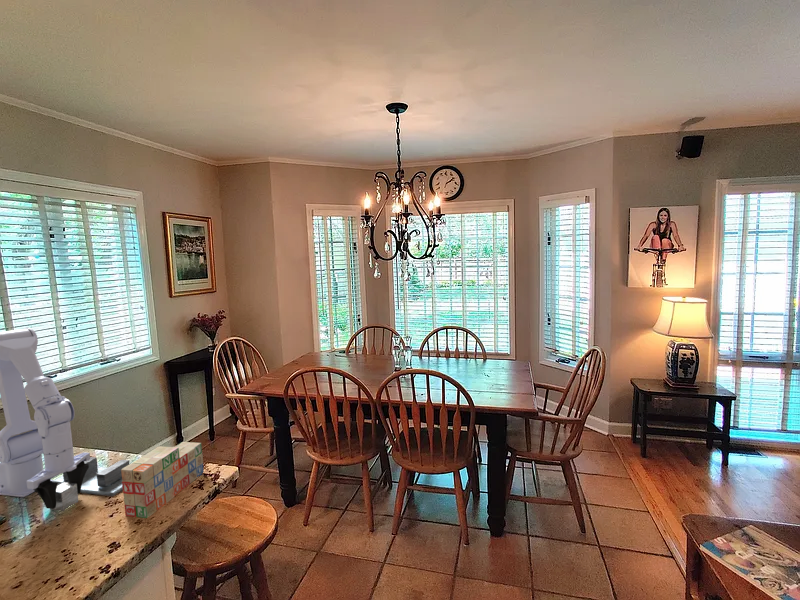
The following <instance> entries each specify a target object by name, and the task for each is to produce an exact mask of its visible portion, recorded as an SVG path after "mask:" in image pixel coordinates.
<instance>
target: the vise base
mask: <svg viewBox="0 0 800 600" xmlns="http://www.w3.org/2000/svg"><path fill="white" fill-rule="evenodd" d="M84 463H87V464H89V468H88V470H87V471H86V473H85V476H84V478H83V482H82V486H81V491H80V493H81V494H89V495H99V496H106V497H114V496H117V495H118V494H119V493H120V492H123V488H122V477H121V478H120V479H118V480H116V481H115V482H113V483H112V484H110V485H108V486H107V487H99V486H98V483H97V474H98V473H99V472H101V471H103V470H105V469H106V468H107V467H102V466H98V457H94V456H93V457H92V456H90V460H88V461H84ZM52 480H53V481H52V482H54V483H58V485H60V484H62V483H63V482H66V483H69V479H68V476H67V473H66V472H64V473H62V475H61V476H59V477H56V478H55V479H52ZM58 485H57V486H58ZM80 493H79V494H80Z"/></svg>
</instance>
